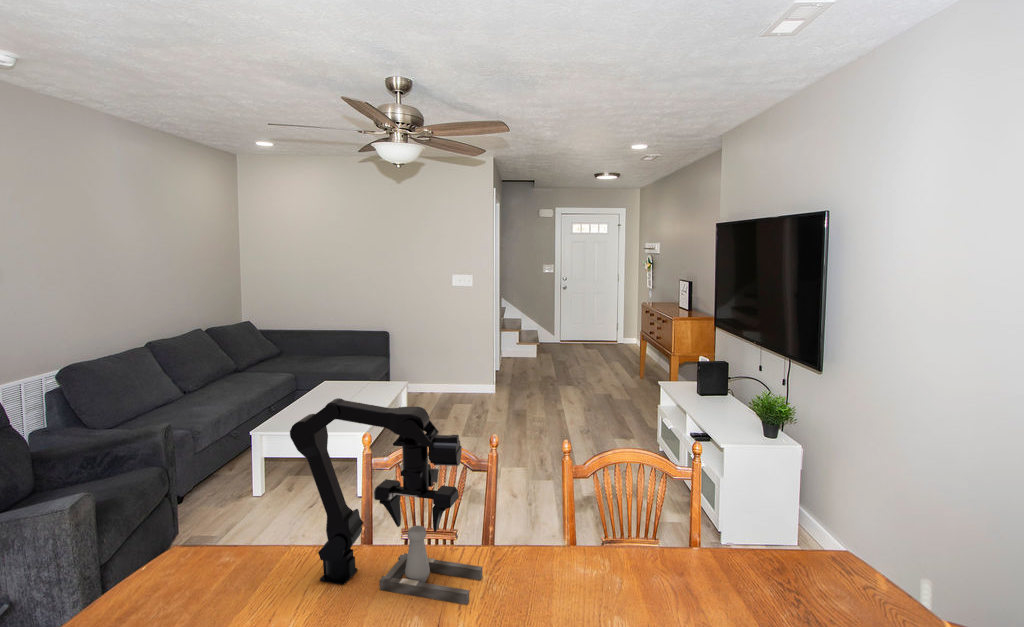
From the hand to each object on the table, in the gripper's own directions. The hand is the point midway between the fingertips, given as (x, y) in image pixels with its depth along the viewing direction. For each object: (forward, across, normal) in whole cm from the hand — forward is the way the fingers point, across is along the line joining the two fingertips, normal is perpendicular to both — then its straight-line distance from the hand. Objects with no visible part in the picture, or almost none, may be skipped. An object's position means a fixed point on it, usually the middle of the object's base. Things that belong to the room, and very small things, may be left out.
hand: (417, 528), depth 132 cm
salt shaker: (+13, 0, 0) cm, 13 cm away
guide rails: (+13, -3, 0) cm, 13 cm away
